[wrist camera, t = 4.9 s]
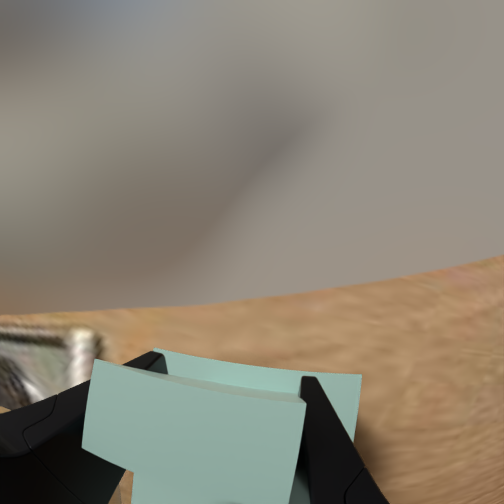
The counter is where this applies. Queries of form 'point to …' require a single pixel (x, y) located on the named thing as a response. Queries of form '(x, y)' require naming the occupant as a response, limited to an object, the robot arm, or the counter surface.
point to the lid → (206, 427)
